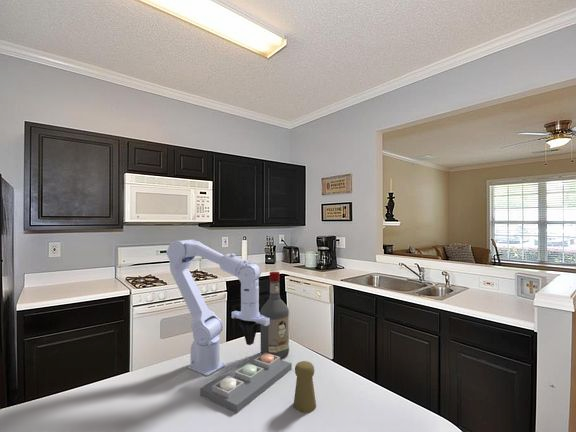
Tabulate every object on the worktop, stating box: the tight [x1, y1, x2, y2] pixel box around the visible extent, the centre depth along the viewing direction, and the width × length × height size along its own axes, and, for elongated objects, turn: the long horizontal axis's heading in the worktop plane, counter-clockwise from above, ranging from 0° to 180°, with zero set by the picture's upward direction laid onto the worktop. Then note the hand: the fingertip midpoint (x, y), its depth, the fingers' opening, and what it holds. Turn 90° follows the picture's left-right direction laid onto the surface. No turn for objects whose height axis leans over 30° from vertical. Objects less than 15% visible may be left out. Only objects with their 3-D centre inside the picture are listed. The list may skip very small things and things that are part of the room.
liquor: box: [259, 271, 290, 360], centre depth 107 cm, size 9×9×30 cm
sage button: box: [242, 365, 257, 376], centre depth 89 cm, size 4×4×2 cm
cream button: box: [220, 378, 236, 391], centre depth 82 cm, size 4×4×2 cm
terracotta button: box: [261, 354, 274, 364], centre depth 97 cm, size 4×4×2 cm
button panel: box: [199, 352, 293, 414], centre depth 89 cm, size 14×26×3 cm, turn 147°
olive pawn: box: [293, 360, 317, 414], centre depth 77 cm, size 6×6×11 cm
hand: (250, 343), depth 94 cm, fingers closed
